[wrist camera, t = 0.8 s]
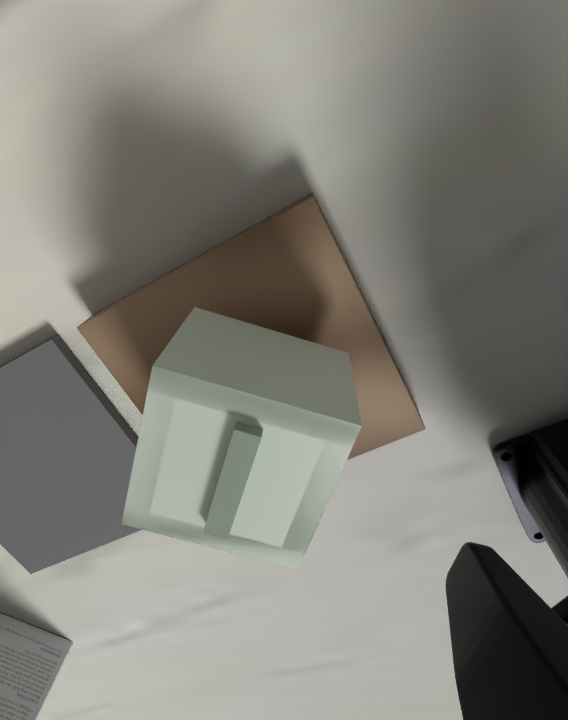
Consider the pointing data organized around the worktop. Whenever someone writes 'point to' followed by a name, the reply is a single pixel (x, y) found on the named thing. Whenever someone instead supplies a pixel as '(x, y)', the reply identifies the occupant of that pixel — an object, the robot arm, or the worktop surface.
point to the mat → (59, 459)
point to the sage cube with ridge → (242, 439)
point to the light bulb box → (27, 667)
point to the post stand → (265, 314)
